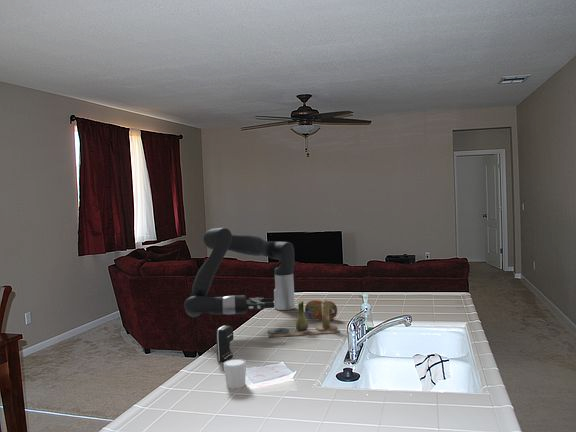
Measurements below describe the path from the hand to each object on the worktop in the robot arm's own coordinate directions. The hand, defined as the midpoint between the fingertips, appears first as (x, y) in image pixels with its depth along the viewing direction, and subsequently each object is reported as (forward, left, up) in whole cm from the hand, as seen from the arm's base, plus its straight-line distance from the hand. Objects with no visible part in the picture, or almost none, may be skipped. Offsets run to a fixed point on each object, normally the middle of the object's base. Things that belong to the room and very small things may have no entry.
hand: (273, 302), depth 212 cm
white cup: (+24, -53, -12) cm, 59 cm away
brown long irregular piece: (+10, +6, -12) cm, 17 cm away
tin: (+6, +27, -13) cm, 31 cm away
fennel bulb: (+9, +7, -12) cm, 17 cm away
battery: (+5, -36, -12) cm, 38 cm away
